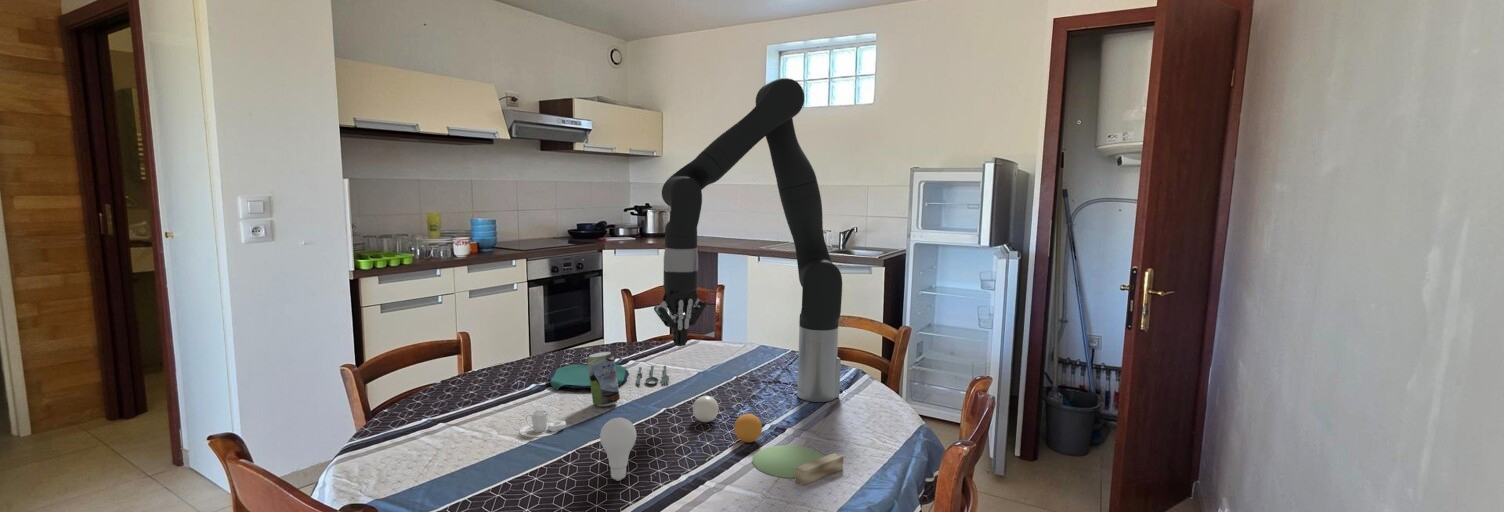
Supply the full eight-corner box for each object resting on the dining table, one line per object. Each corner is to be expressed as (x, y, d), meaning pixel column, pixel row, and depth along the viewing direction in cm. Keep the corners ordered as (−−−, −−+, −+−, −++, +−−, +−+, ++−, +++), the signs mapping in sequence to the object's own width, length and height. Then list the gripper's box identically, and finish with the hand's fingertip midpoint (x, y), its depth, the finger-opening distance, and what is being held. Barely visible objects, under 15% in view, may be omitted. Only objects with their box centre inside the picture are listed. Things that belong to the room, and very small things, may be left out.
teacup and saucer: (571, 428, 141) (571, 409, 141) (548, 442, 134) (547, 422, 133) (535, 422, 144) (535, 404, 144) (511, 436, 137) (510, 416, 136)
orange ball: (754, 434, 139) (754, 408, 138) (766, 444, 134) (767, 417, 133) (729, 438, 136) (730, 412, 136) (741, 448, 132) (741, 421, 131)
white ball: (712, 415, 149) (712, 391, 149) (722, 423, 144) (722, 398, 144) (688, 418, 147) (689, 394, 146) (698, 427, 142) (698, 402, 141)
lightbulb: (602, 472, 120) (602, 412, 119) (637, 472, 120) (637, 412, 119) (598, 488, 114) (597, 425, 113) (634, 487, 114) (634, 424, 113)
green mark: (803, 441, 136) (803, 440, 136) (842, 469, 123) (842, 468, 123) (739, 453, 129) (739, 452, 129) (774, 483, 117) (774, 482, 117)
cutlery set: (555, 371, 181) (554, 362, 181) (668, 369, 186) (668, 360, 185) (542, 395, 162) (542, 386, 162) (669, 392, 166) (669, 383, 166)
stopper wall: (834, 465, 125) (834, 452, 124) (842, 469, 123) (843, 456, 123) (795, 481, 118) (795, 467, 118) (803, 485, 117) (804, 471, 116)
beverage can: (613, 410, 151) (613, 357, 150) (582, 407, 153) (582, 355, 151) (624, 401, 157) (624, 350, 156) (594, 398, 159) (594, 348, 157)
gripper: (695, 264, 156) (694, 337, 158) (645, 268, 148) (645, 346, 150) (715, 267, 151) (714, 344, 153) (665, 272, 142) (664, 353, 144)
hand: (680, 345), depth 151 cm, fingers closed
